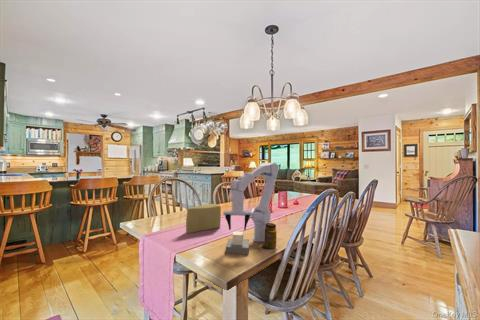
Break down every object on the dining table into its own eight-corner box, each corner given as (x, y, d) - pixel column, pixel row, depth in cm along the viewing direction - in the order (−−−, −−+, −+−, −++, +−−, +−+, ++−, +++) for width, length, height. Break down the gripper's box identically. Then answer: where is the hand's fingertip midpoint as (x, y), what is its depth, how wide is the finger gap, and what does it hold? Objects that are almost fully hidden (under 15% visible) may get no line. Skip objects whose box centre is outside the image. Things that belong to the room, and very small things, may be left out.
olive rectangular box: (190, 235, 130) (190, 210, 130) (182, 230, 137) (183, 206, 137) (221, 228, 144) (221, 205, 144) (213, 224, 152) (213, 202, 151)
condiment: (279, 247, 115) (279, 224, 115) (270, 252, 109) (271, 228, 108) (267, 243, 120) (268, 221, 120) (258, 248, 113) (258, 224, 113)
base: (248, 244, 117) (248, 239, 117) (248, 254, 106) (248, 247, 106) (228, 244, 118) (228, 238, 118) (225, 253, 107) (225, 247, 107)
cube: (243, 241, 114) (243, 231, 114) (242, 245, 109) (242, 235, 109) (233, 240, 115) (233, 231, 115) (232, 244, 110) (232, 234, 110)
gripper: (222, 204, 109) (222, 231, 110) (252, 205, 109) (251, 232, 109) (224, 201, 116) (224, 227, 117) (251, 202, 116) (251, 227, 116)
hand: (237, 229), depth 113 cm, fingers open, 7 cm apart
